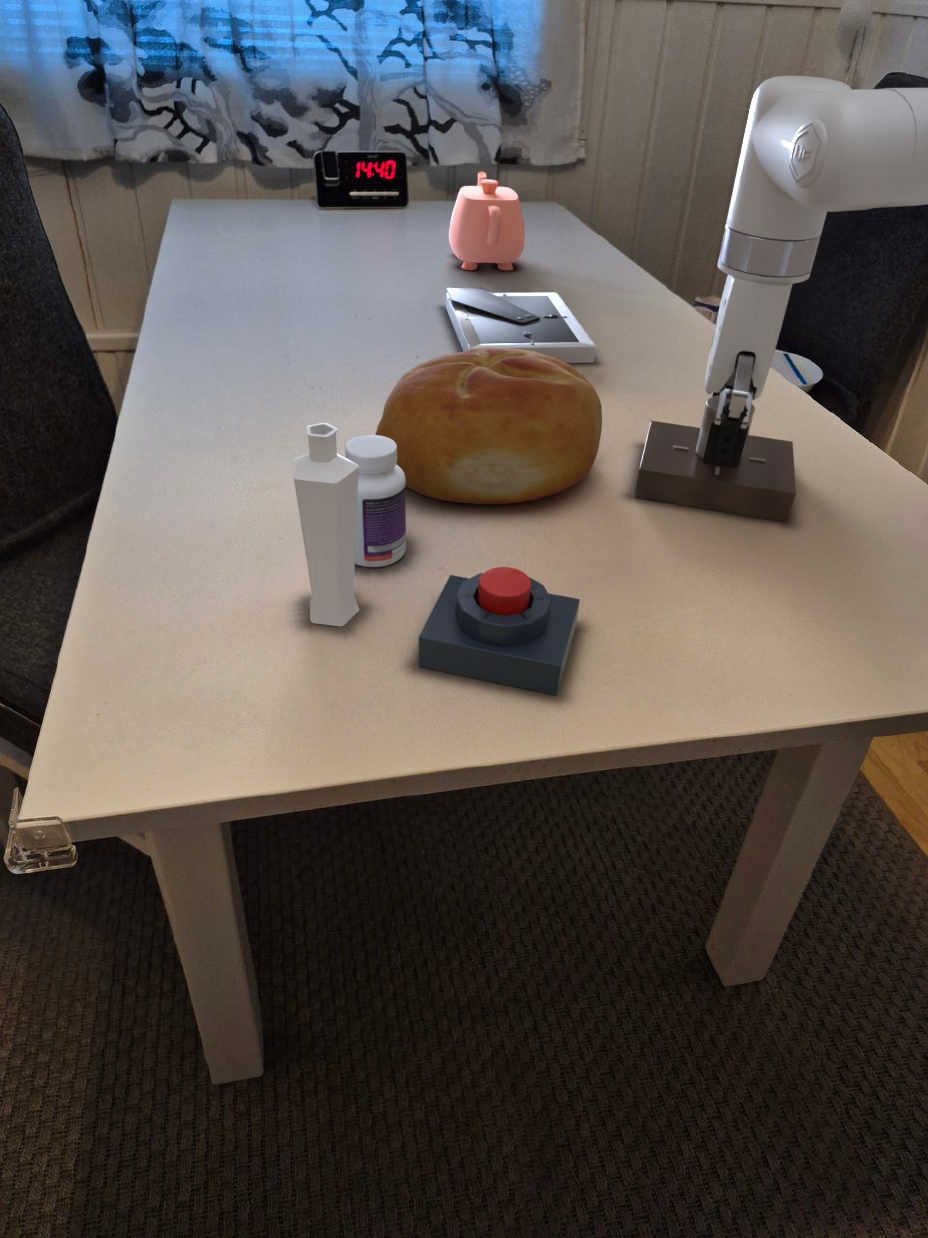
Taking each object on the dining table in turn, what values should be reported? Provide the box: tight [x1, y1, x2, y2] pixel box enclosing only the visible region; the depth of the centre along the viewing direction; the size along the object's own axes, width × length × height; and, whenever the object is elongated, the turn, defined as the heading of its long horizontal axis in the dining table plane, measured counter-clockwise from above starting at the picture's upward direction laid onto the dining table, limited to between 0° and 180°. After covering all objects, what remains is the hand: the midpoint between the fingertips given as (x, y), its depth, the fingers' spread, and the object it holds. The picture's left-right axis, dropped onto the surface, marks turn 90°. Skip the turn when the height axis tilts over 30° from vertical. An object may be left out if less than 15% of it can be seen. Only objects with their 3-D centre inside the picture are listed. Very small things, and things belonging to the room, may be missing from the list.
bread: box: [374, 347, 603, 505], centre depth 84 cm, size 23×23×10 cm
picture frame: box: [445, 287, 597, 364], centre depth 115 cm, size 16×3×21 cm
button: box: [478, 566, 531, 616], centre depth 61 cm, size 4×4×2 cm
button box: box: [418, 572, 581, 696], centre depth 63 cm, size 10×8×4 cm
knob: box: [696, 396, 756, 461], centre depth 82 cm, size 4×4×5 cm
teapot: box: [448, 170, 526, 271], centre depth 139 cm, size 20×12×12 cm, turn 6°
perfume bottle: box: [292, 422, 360, 627], centre depth 62 cm, size 5×4×15 cm
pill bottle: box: [344, 434, 407, 568], centre depth 71 cm, size 5×5×10 cm
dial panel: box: [633, 420, 797, 523], centre depth 85 cm, size 14×11×3 cm
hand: (722, 441), depth 83 cm, fingers open, 9 cm apart
